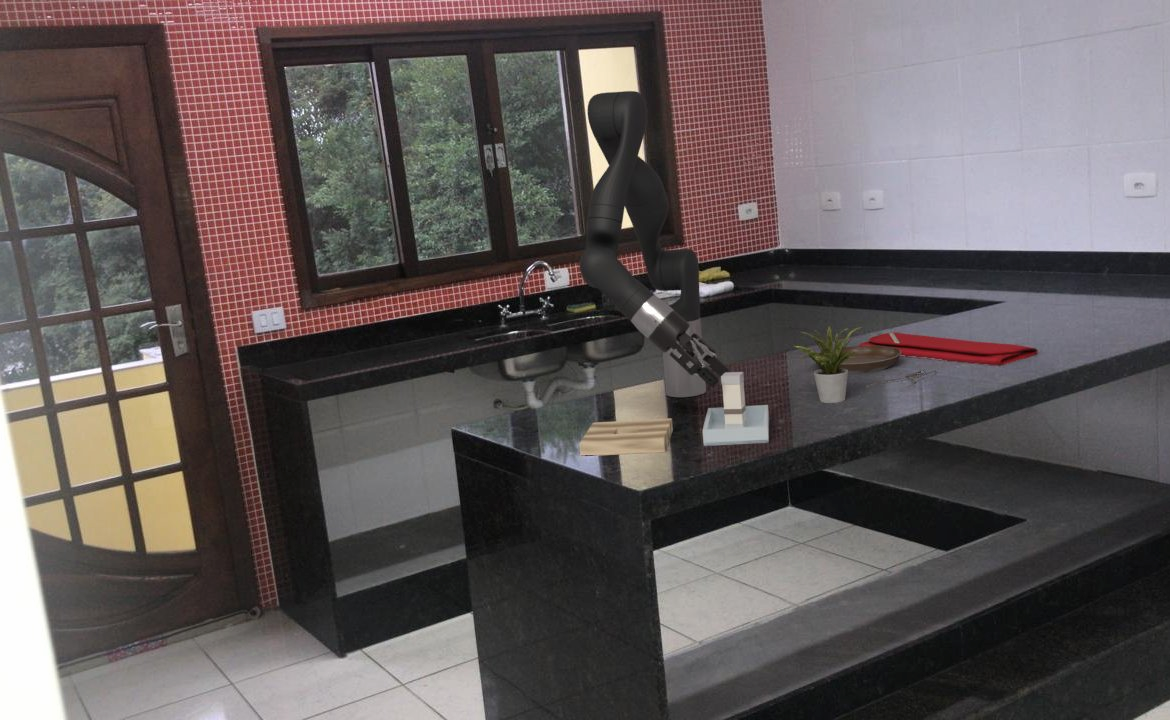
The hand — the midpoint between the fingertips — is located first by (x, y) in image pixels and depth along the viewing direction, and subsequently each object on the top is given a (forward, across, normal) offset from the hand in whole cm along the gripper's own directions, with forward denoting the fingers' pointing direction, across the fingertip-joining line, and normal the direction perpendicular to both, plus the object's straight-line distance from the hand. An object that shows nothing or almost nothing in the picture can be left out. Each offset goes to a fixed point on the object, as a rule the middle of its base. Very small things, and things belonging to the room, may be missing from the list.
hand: (721, 379), depth 207 cm
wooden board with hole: (-5, -8, +20) cm, 22 cm away
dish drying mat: (+36, +74, -19) cm, 84 cm away
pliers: (+30, +43, -13) cm, 54 cm away
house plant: (+20, +27, -5) cm, 34 cm away
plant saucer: (+22, +61, -5) cm, 65 cm away
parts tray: (+9, 0, +6) cm, 11 cm away
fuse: (+9, -1, +6) cm, 10 cm away
